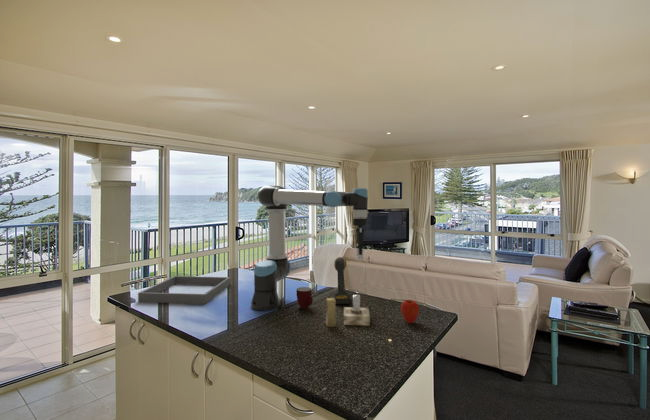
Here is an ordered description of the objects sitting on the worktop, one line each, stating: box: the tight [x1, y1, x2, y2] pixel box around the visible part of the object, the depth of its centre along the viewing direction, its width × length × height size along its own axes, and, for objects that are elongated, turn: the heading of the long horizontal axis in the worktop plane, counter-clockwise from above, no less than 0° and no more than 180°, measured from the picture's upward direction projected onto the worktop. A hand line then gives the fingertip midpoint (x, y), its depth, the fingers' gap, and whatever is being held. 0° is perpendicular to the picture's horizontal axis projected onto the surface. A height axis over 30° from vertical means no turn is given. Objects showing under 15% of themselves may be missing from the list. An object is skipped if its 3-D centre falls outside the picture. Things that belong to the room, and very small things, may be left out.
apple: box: [400, 299, 420, 324], centre depth 151 cm, size 9×8×11 cm
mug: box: [296, 286, 314, 310], centre depth 169 cm, size 11×8×10 cm
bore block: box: [343, 306, 371, 326], centre depth 154 cm, size 12×12×4 cm
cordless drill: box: [333, 256, 351, 305], centre depth 182 cm, size 9×20×25 cm, turn 174°
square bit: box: [325, 297, 337, 328], centre depth 147 cm, size 4×4×12 cm
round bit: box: [352, 293, 361, 314], centre depth 153 cm, size 3×3×12 cm
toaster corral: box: [137, 275, 231, 305], centre depth 195 cm, size 38×38×5 cm
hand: (359, 258), depth 168 cm, fingers open, 13 cm apart
